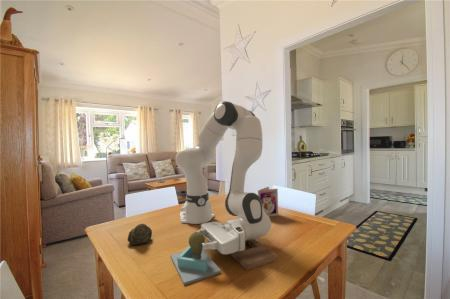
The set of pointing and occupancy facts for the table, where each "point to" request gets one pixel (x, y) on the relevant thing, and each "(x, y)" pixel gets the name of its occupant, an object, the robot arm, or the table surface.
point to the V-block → (193, 266)
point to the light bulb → (196, 244)
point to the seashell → (140, 234)
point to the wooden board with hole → (254, 255)
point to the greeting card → (269, 201)
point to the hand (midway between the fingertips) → (197, 240)
